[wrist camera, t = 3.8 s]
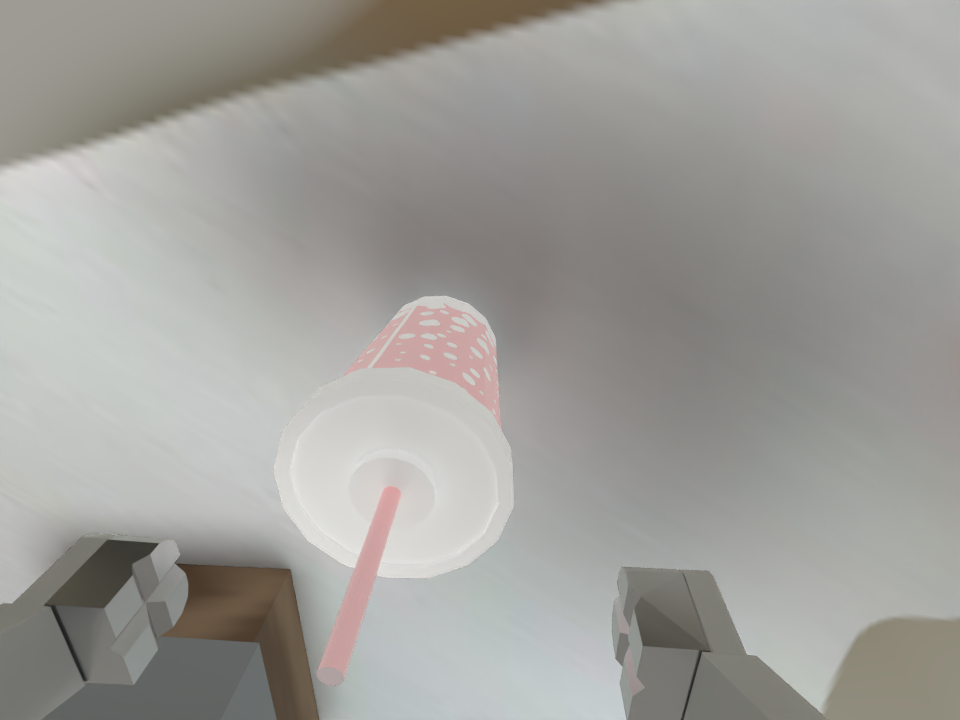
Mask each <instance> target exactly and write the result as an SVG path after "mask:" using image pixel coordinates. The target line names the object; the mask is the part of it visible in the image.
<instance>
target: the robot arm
mask: <svg viewBox="0 0 960 720" xmlns="http://www.w3.org/2000/svg"><path fill="white" fill-rule="evenodd" d="M179 556H180V553H179V550H178V547H177V544H176V541H173V540H169V539H162V538H150V537H139V536H128V535H110V534H99V533H91V534H88V535H86V536H84V537H81V538H80V539H79V540H78V541H77V542H76V543H75V544H74V545H73V546H72V547H71V548H70V549H69V550H68V551H67V552H66V553H65V554H64V555H63V556H62V557H60V558H59V559H58V560H57V561H56V562H55V563H54V564H53V565H52V566H51V567H50V568H49V569H48V570H47V571H46V572H45V573H44V574H43V575H42V576H41V577H40V578H39V579H37V580H36V581H35V582H34V583H33V584H32V585H31V586H30V587H29V588H28V589H27V590H26V591H25V592H24V593H23V594H22V595H21V596H20V597H19V598H18V599H17V600H15V601H14V602H13V603H12V604H8V603H3V604H1V605H0V720H41V719H43V718H44V717H45V716H46V715H48V714H49V713H50V712H52V711H53V710H54V709H55V708H57V707H58V706H59V705H61V704H62V703H63V702H65V701H66V700H67V699H68V698H70V697H71V696H72V695H74V694H75V693H76V692H78V691H79V690H80V689H81V688H83V687H84V686H85V683H102V684H124V685H134V684H135V683H136V681H137V680H138V678H139V677H140V675H141V674H142V672H143V671H144V669H145V668H146V666H147V665H148V664H149V662H150V661H151V659H152V658H153V656H154V655H155V653H156V652H157V650H158V641H157V637H159V636H160V635H162V634H164V633H165V632H167V631H168V630H170V629H171V628H173V627H174V625H175V624H176V622H177V620H178V619H179V617H180V616H181V614H182V613H183V610H184V607H185V604H186V601H187V598H188V580H187V577H186V573H185V572H184V571H183V570H182V569H180V568H179V567H178V566H177V565H176V564H175V563H176V561H177V560H178V558H179ZM617 585H618V590H619V595H620V597H618V598H617V599H616V600H615V601H614V605H613V613H612V637H613V646H614V652H615V658H616V660H617V661H618V662H619V663H620V664H621V665H622V666H623V668H622V674H621V680H620V687H621V692H622V698H623V703H624V709H625V714H626V720H828V719H827V718H826V717H825V716H824V715H823V714H821V713H820V712H819V711H818V710H817V709H816V708H815V707H814V706H812V705H811V704H810V703H809V702H808V701H807V700H806V699H805V698H803V697H802V696H801V695H800V694H799V693H798V692H797V691H796V690H794V689H793V688H792V687H791V686H790V685H789V684H788V683H786V682H785V681H784V680H783V679H782V678H781V677H780V676H779V675H777V674H776V673H775V672H774V671H773V670H772V669H771V668H770V667H768V666H767V665H766V664H765V663H764V662H763V661H762V660H761V659H759V658H758V657H757V656H752V655H747V654H746V651H745V649H744V647H743V644H742V642H741V640H740V637H739V635H738V633H737V630H736V628H735V625H734V623H733V621H732V618H731V616H730V614H729V611H728V609H727V607H726V604H725V602H724V600H723V597H722V595H721V593H720V590H719V588H718V586H717V583H716V581H715V579H714V576H713V575H712V574H711V573H710V572H709V571H699V570H677V569H659V568H640V567H621V569H620V571H619V574H618V580H617Z"/></svg>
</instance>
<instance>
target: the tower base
mask: <svg viewBox="0 0 960 720" xmlns="http://www.w3.org/2000/svg"><path fill="white" fill-rule="evenodd" d="M176 565H177V566H178V567H179V568H180V569H182V570H183V571H184V572H185V573H186V577H187V580H188V598H187V601H186V604H185V607H184V610H183V613H182V614H181V616H180V617H179V619H178V620H177V622H176V624H175V625H174V627H173V628H171V629H170V630H168V631H167V632H165V633H164V634H162V635H160V636H163V637H178V638H193V639H209V640H224V641H239V642H254V643H259V645H260V649H261V654H262V658H263V662H264V667H265V671H266V676H267V680H268V684H269V689H270V693H271V697H272V702H273V706H274V710H275V715H276V719H277V720H319V716H318V711H317V706H316V700H315V695H314V690H313V685H312V680H311V674H310V669H309V664H308V659H307V654H306V648H305V643H304V638H303V633H302V627H301V622H300V617H299V612H298V607H297V601H296V596H295V591H294V586H293V581H292V575H291V570H290V569H272V568H251V567H230V566H209V565H188V564H176Z"/></svg>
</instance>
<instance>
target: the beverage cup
mask: <svg viewBox="0 0 960 720" xmlns="http://www.w3.org/2000/svg"><path fill="white" fill-rule="evenodd" d="M273 470H274V474H275V478H276V482H277V486H278V490H279V494H280V498H281V502H282V506H283V508H284V510H285V511H286V512H287V514H288V515H289V516H290V518H291V519H292V520H293V522H294V523H295V524H296V526H297V527H298V528H299V530H300V531H301V532H302V534H303V535H304V536H305V538H306V539H307V540H308V541H309V542H310V543H312V544H313V545H315V546H316V547H318V548H319V549H321V550H322V551H324V552H325V553H327V554H328V555H330V556H331V557H333V558H334V559H336V560H337V561H339V562H340V563H342V564H343V565H345V566H349V567H352V568H355V569H354V571H353V574H352V577H351V580H350V582H349V585H348V588H347V591H346V593H345V596H344V599H343V602H342V604H341V607H340V610H339V613H338V615H337V618H336V621H335V624H334V626H333V629H332V632H331V635H330V637H329V640H328V643H327V646H326V648H325V651H324V654H323V657H322V659H321V662H320V665H319V668H318V670H317V673H316V675H317V678H318V679H319V681H320V682H322V683H324V684H326V685H329V686H336V685H340V684H341V683H342V682H343V681H344V678H345V675H346V671H347V668H348V665H349V662H350V658H351V655H352V652H353V649H354V646H355V642H356V639H357V636H358V633H359V629H360V626H361V623H362V620H363V617H364V613H365V610H366V607H367V604H368V600H369V597H370V594H371V591H372V588H373V584H374V581H375V578H376V575H378V576H381V577H385V578H430V577H433V576H436V575H440V574H443V573H446V572H449V571H452V570H455V569H458V568H461V567H465V566H468V565H469V564H470V563H471V562H472V561H474V560H475V559H476V558H477V557H479V556H480V555H481V554H482V553H484V552H485V551H486V550H487V549H488V548H490V547H491V546H492V545H493V544H495V543H496V542H497V541H498V539H499V537H500V535H501V533H502V531H503V529H504V527H505V525H506V522H507V520H508V518H509V516H510V514H511V512H512V510H513V508H514V488H513V462H512V449H511V447H510V446H509V444H508V442H507V440H506V438H505V436H504V434H503V432H502V431H501V421H500V404H499V387H498V370H497V354H496V338H495V336H494V334H493V332H492V330H491V328H490V326H489V324H488V322H487V320H486V318H485V317H484V316H482V315H481V314H480V313H479V312H478V311H477V310H476V309H474V308H473V307H472V306H471V305H470V304H469V303H466V302H463V301H460V300H457V299H454V298H452V297H449V296H426V297H422V298H420V299H417V300H415V301H413V302H411V303H409V304H406V305H404V306H403V307H402V308H401V309H400V310H399V312H398V313H397V314H396V315H395V316H394V317H393V318H392V320H391V321H390V322H389V323H388V324H387V325H386V326H385V328H384V329H383V330H382V331H381V332H380V333H379V334H378V336H377V337H376V338H375V339H374V340H373V341H372V343H371V344H370V345H369V346H368V347H367V348H366V349H365V351H364V352H363V353H362V354H361V355H360V356H359V358H358V359H357V360H356V361H355V362H354V363H353V364H352V366H351V367H350V368H349V369H348V370H347V371H346V372H345V374H344V375H343V376H342V377H341V378H339V379H336V380H334V381H332V382H329V383H327V384H325V385H322V386H321V387H320V388H319V389H318V390H317V392H316V393H315V394H314V395H313V396H312V397H311V398H310V399H309V400H308V402H307V403H306V404H305V405H304V406H303V407H302V408H301V410H300V411H299V412H298V413H297V414H296V415H295V416H294V418H293V419H292V420H291V421H290V422H289V423H288V425H287V426H286V427H285V428H284V430H283V431H282V434H281V438H280V443H279V447H278V451H277V456H276V460H275V465H274V469H273Z"/></svg>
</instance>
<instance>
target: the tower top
mask: <svg viewBox="0 0 960 720" xmlns="http://www.w3.org/2000/svg"><path fill="white" fill-rule="evenodd" d="M157 641H158V650H157V652H156V653H155V655H154V656H153V658H152V659H151V661H150V662H149V664H148V665H147V666H146V668H145V669H144V671H143V672H142V674H141V675H140V677H139V678H138V680H137V681H136V683H135V684H134V685H124V684H102V683H85V686H84V687H83V688H81V689H80V690H79V691H78V692H76V693H75V694H74V695H72V696H71V697H70V698H68V699H67V700H66V701H65V702H63V703H62V704H61V705H59V706H58V707H57V708H55V709H54V710H53V711H52V712H50V713H49V714H48V715H46V716H45V717H44V718H43V719H41V720H277V719H276V715H275V710H274V706H273V702H272V697H271V693H270V689H269V684H268V680H267V676H266V671H265V667H264V662H263V658H262V654H261V649H260V645H259V643H254V642H239V641H224V640H209V639H193V638H178V637H163V636H159V637H157Z"/></svg>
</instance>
